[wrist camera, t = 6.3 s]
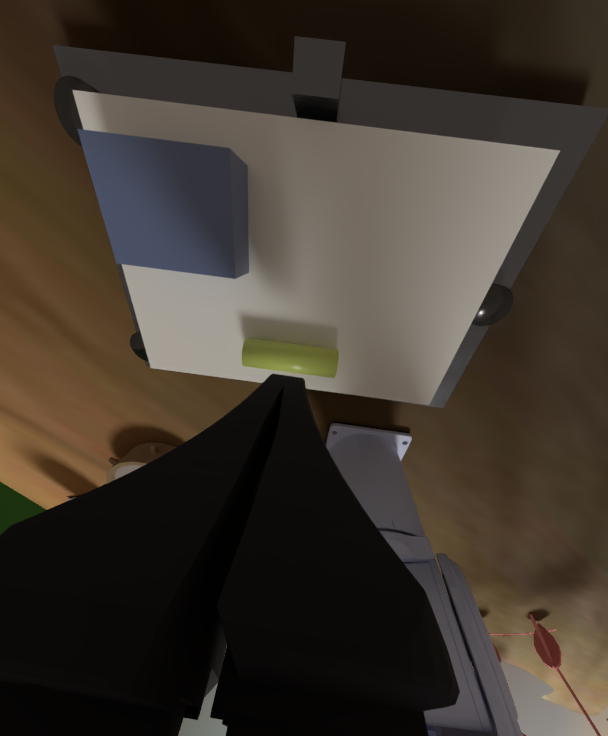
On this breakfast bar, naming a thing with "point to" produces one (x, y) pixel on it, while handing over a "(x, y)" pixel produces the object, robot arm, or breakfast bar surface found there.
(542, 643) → the figurine
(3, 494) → the hardback book
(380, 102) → the base
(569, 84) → the breakfast bar surface
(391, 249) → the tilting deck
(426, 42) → the breakfast bar surface
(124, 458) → the alarm clock
